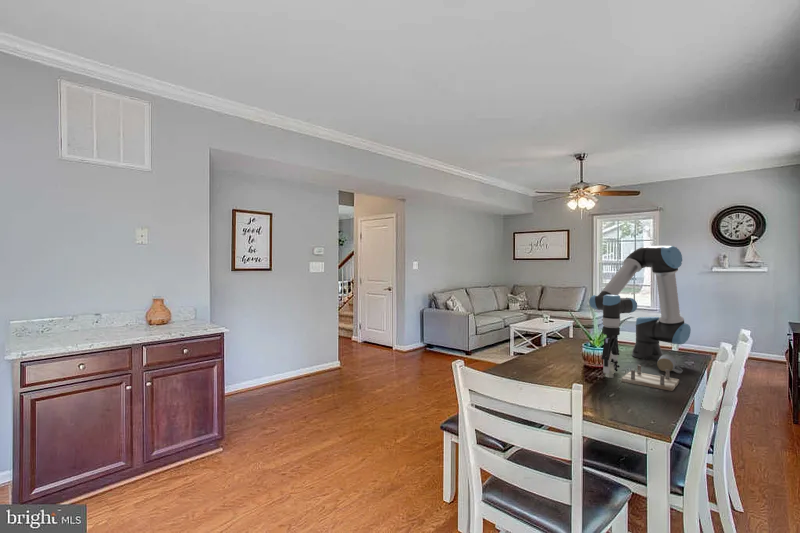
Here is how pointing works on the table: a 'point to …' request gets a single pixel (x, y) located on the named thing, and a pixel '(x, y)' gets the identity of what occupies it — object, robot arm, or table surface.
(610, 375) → the valve
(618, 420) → the table surface
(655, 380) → the peg board
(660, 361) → the ceramic mug
